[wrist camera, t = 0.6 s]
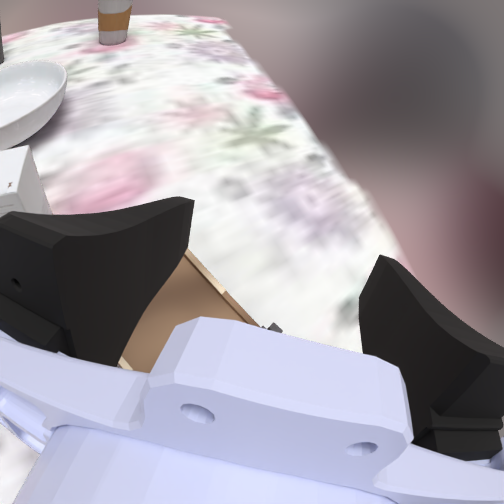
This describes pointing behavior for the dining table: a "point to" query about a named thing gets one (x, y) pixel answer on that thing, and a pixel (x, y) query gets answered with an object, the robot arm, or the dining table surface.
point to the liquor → (1, 48)
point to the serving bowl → (28, 98)
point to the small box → (21, 183)
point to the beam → (178, 312)
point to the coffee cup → (113, 20)
